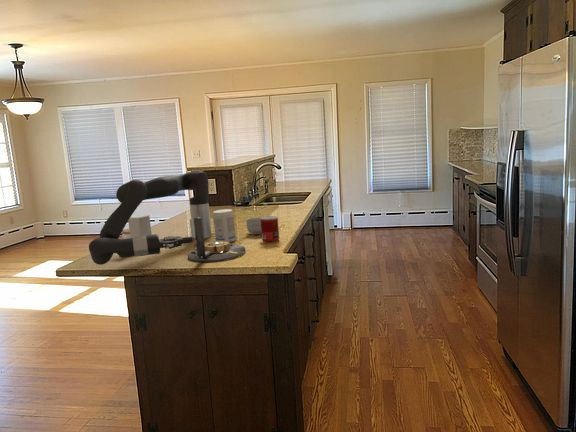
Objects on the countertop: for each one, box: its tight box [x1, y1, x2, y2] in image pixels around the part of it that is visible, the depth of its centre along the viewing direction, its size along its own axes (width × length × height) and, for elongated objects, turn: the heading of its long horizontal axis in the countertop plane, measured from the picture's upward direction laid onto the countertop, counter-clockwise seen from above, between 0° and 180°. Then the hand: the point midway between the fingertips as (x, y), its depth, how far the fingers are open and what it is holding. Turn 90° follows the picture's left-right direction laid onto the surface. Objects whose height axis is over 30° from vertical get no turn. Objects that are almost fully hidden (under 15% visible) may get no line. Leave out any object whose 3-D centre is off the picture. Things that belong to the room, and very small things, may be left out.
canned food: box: [261, 215, 280, 243], centre depth 213 cm, size 8×8×11 cm
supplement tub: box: [212, 208, 237, 243], centre depth 219 cm, size 10×10×15 cm
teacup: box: [245, 216, 263, 235], centre depth 232 cm, size 14×11×8 cm
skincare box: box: [127, 214, 153, 238], centre depth 213 cm, size 8×7×16 cm
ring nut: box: [194, 217, 231, 259], centre depth 188 cm, size 20×11×16 cm, turn 162°
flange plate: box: [187, 241, 246, 263], centre depth 194 cm, size 24×24×5 cm
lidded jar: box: [121, 228, 130, 239], centre depth 224 cm, size 11×11×9 cm
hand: (192, 239), depth 180 cm, fingers closed
